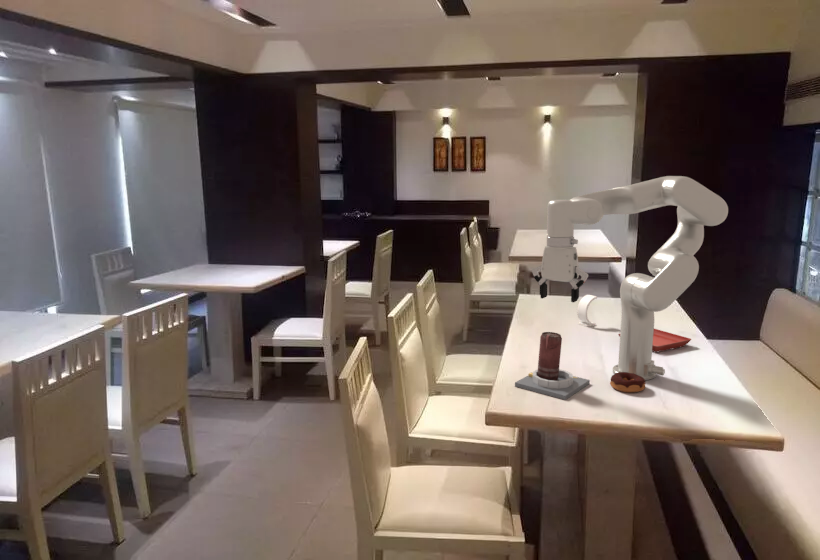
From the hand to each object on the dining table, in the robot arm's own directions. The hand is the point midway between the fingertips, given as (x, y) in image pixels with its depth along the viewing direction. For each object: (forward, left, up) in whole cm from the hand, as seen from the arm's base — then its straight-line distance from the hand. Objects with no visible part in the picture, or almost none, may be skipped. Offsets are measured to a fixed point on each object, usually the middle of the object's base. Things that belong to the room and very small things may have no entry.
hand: (558, 299), depth 175 cm
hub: (-2, +5, -25) cm, 26 cm away
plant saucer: (-11, -56, -26) cm, 62 cm away
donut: (-19, -7, -25) cm, 33 cm away
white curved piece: (+19, -65, -25) cm, 72 cm away
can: (0, +6, -24) cm, 24 cm away
